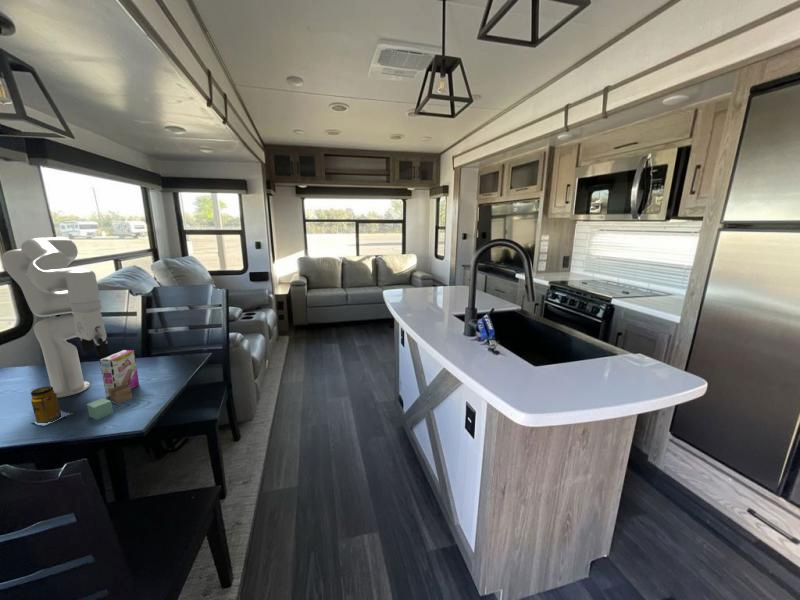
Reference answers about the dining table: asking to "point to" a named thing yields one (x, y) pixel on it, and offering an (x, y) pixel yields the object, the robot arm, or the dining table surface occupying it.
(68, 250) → the robot arm
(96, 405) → the green cube
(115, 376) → the candy bar box
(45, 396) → the condiment
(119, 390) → the walnut block
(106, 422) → the dining table surface
